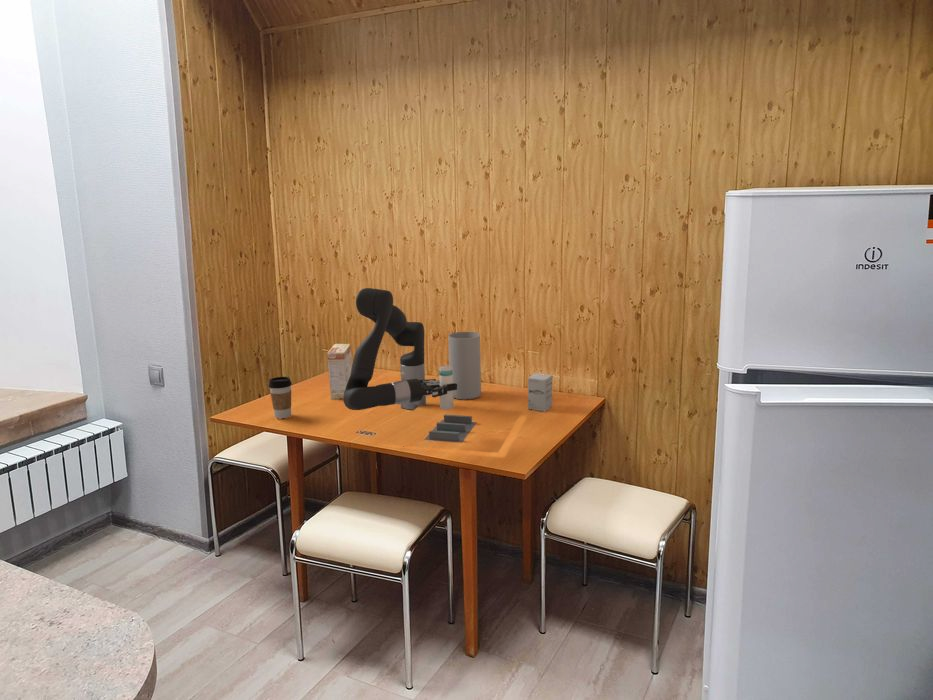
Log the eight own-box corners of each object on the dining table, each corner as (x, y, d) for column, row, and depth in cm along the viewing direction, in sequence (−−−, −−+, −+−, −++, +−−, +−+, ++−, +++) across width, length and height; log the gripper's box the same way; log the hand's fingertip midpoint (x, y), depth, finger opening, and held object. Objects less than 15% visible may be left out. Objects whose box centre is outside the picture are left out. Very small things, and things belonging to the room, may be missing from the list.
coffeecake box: (337, 388, 307) (334, 343, 303) (354, 388, 307) (351, 343, 302) (329, 399, 293) (326, 352, 288) (347, 399, 293) (344, 352, 288)
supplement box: (527, 409, 274) (527, 377, 271) (534, 404, 280) (534, 372, 277) (545, 412, 270) (545, 379, 267) (552, 406, 277) (552, 374, 274)
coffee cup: (267, 419, 271) (263, 380, 268) (280, 412, 279) (276, 374, 275) (286, 421, 268) (282, 382, 265) (298, 414, 276) (295, 376, 272)
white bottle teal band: (438, 409, 242) (436, 368, 239) (442, 405, 246) (441, 365, 243) (451, 410, 241) (450, 369, 237) (455, 405, 245) (454, 365, 242)
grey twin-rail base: (424, 443, 243) (423, 432, 242) (442, 423, 261) (441, 413, 260) (461, 446, 239) (461, 435, 238) (477, 426, 258) (476, 415, 257)
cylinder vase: (454, 401, 286) (452, 339, 280) (447, 392, 298) (445, 333, 292) (484, 398, 289) (483, 337, 283) (476, 389, 300) (475, 330, 294)
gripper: (412, 386, 229) (462, 378, 236) (397, 375, 241) (445, 368, 248) (413, 408, 230) (462, 400, 237) (398, 396, 243) (445, 389, 250)
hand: (453, 384), depth 243 cm, fingers closed on white bottle teal band, 4 cm apart
